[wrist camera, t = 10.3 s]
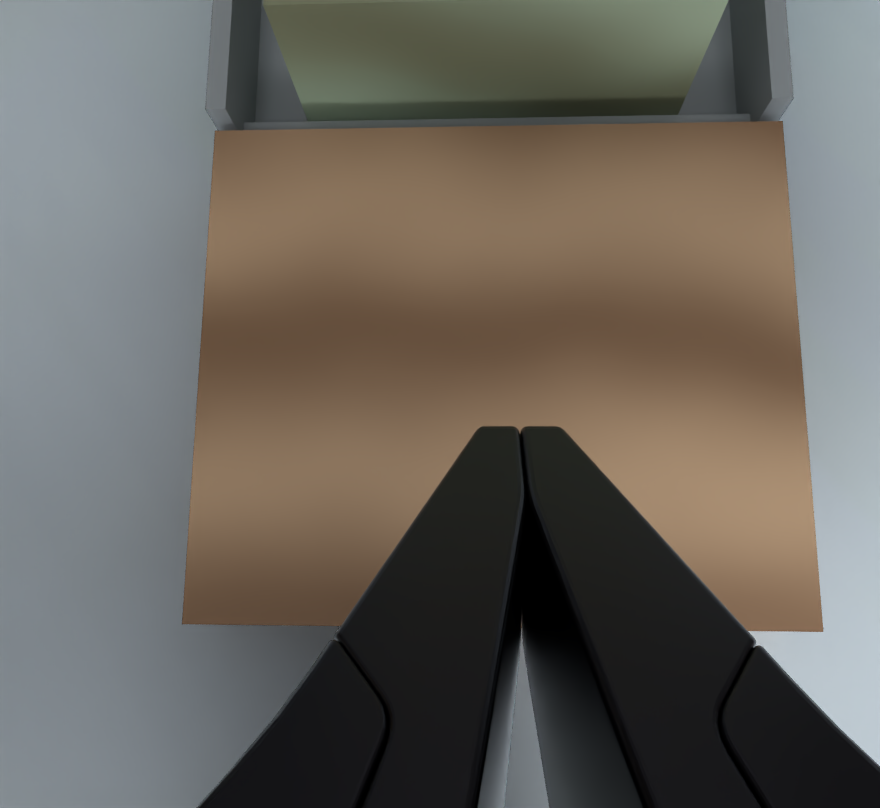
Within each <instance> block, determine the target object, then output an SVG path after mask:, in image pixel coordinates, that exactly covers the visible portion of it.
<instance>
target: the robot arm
mask: <svg viewBox="0 0 880 808" xmlns="http://www.w3.org/2000/svg"><path fill="white" fill-rule="evenodd" d="M521 623H522V638H523V646H524V654H525V661H526V668H527V674H528V680H529V686H530V692H531V698H532V704H533V710H534V717H535V723H536V729H537V735H538V741H539V747H540V753H541V759H542V765H543V772H544V778H545V784H546V790H547V796H548V802H549V808H880V766H879V765H878V764H877V763H876V762H875V761H874V760H873V759H872V758H871V757H869V756H868V755H867V754H866V753H865V752H864V751H863V750H862V749H861V748H860V747H859V746H858V745H857V744H856V743H855V742H854V741H853V740H851V739H850V738H849V737H848V736H847V735H846V734H845V733H844V732H843V731H842V730H841V729H840V728H839V727H838V726H837V725H836V724H835V723H834V722H833V721H832V720H831V719H830V718H829V717H828V716H827V715H826V714H825V713H824V712H823V711H822V710H821V709H820V708H819V707H818V705H817V704H816V703H815V702H814V701H813V700H812V699H811V698H810V697H809V696H808V695H807V694H806V693H805V692H804V691H803V690H802V689H801V688H800V687H799V686H798V685H797V684H796V683H795V682H794V681H793V680H792V678H791V677H790V676H789V675H788V674H787V673H786V672H785V671H784V670H783V669H782V668H781V666H780V665H779V664H778V663H777V662H776V661H775V660H774V659H773V658H772V657H771V656H770V654H769V653H768V652H767V651H766V650H765V649H764V648H763V647H762V646H756V641H755V639H754V637H753V636H752V635H751V634H750V633H749V632H748V631H747V630H746V629H745V628H744V626H743V625H742V624H741V623H740V622H739V621H738V620H737V619H736V618H735V617H734V616H733V614H732V613H731V612H730V611H729V610H728V609H727V608H726V607H725V606H724V605H723V603H722V602H721V601H720V600H719V599H718V598H717V597H716V596H715V595H714V594H713V592H712V591H711V590H710V589H709V588H708V587H707V586H706V585H705V584H704V583H703V582H702V580H701V579H700V578H699V577H698V576H697V575H696V574H695V573H694V572H693V571H692V569H691V568H690V567H689V566H688V565H687V564H686V563H685V562H684V561H683V560H682V559H681V557H680V556H679V555H678V554H677V553H676V552H675V551H674V550H673V549H672V548H671V546H670V545H669V544H668V543H667V542H666V541H665V540H664V539H663V538H662V537H661V535H660V534H659V533H658V532H657V531H656V530H655V529H654V528H653V527H652V526H651V525H650V523H649V522H648V521H647V520H646V519H645V518H644V517H643V516H642V515H641V514H640V512H639V511H638V510H637V509H636V508H635V507H634V506H633V505H632V504H631V503H630V502H629V500H628V499H627V498H626V497H625V496H624V495H623V494H622V493H621V492H620V491H619V489H618V488H617V487H616V486H615V485H614V484H613V483H612V482H611V481H610V480H609V478H608V477H607V476H606V475H605V474H604V473H603V472H602V471H601V470H600V469H599V468H598V466H597V465H596V464H595V463H594V462H593V461H592V460H591V459H590V458H589V457H588V455H587V454H586V453H585V452H584V451H583V450H582V449H581V448H580V447H579V446H578V445H577V443H576V442H575V441H574V440H573V439H572V438H571V437H570V436H569V435H568V434H567V432H566V431H565V430H564V429H562V428H561V427H559V426H526V427H524V428H522V430H521V431H520V432H519V430H518V429H517V428H516V427H514V426H481V427H480V428H478V429H477V430H476V432H475V433H474V434H473V436H472V437H471V439H470V440H469V442H468V443H467V444H466V446H465V447H464V449H463V450H462V452H461V453H460V455H459V456H458V457H457V459H456V460H455V462H454V463H453V465H452V466H451V468H450V469H449V470H448V472H447V473H446V475H445V476H444V478H443V479H442V481H441V482H440V483H439V485H438V486H437V488H436V489H435V491H434V492H433V494H432V495H431V496H430V498H429V499H428V501H427V502H426V504H425V505H424V507H423V508H422V509H421V511H420V512H419V514H418V515H417V517H416V518H415V520H414V521H413V522H412V524H411V525H410V527H409V528H408V530H407V531H406V532H405V534H404V535H403V537H402V538H401V540H400V541H399V543H398V544H397V545H396V547H395V548H394V550H393V551H392V553H391V554H390V556H389V557H388V558H387V560H386V561H385V563H384V564H383V566H382V567H381V569H380V570H379V571H378V573H377V574H376V576H375V577H374V579H373V580H372V582H371V583H370V584H369V586H368V587H367V589H366V590H365V592H364V593H363V595H362V596H361V597H360V599H359V600H358V602H357V603H356V605H355V606H354V608H353V609H352V610H351V612H350V613H349V615H348V616H347V618H346V619H345V621H344V622H343V623H342V625H341V626H340V628H339V629H338V631H337V632H336V634H335V637H334V639H335V640H331V641H330V642H329V643H328V644H327V646H326V647H325V649H324V650H323V652H322V653H321V655H320V656H319V657H318V659H317V660H316V662H315V663H314V665H313V666H312V668H311V669H310V670H309V672H308V673H307V675H306V676H305V677H304V679H303V680H302V681H301V683H300V684H299V685H298V687H297V688H296V689H295V691H294V692H293V693H292V695H291V696H290V697H289V699H288V700H287V701H286V703H285V704H284V705H283V707H282V708H281V710H280V711H279V712H278V714H277V715H276V716H275V718H274V719H273V720H272V721H271V722H270V724H269V725H268V726H267V727H266V728H265V730H264V731H263V732H262V733H261V734H260V735H259V737H258V738H257V739H256V740H255V741H254V743H253V744H252V745H251V746H250V747H249V748H248V750H247V751H246V752H245V753H244V754H243V755H242V757H241V758H240V759H239V760H238V761H237V763H236V764H235V765H234V766H233V767H232V768H231V770H230V771H229V772H228V773H227V774H226V775H225V776H224V778H223V779H222V780H221V781H220V782H219V783H218V784H217V785H216V787H215V788H214V789H213V790H212V791H211V792H210V793H209V794H208V795H207V797H206V798H205V799H204V800H203V801H202V802H201V803H200V804H199V806H198V807H197V808H504V805H505V795H506V785H507V775H508V766H509V756H510V746H511V736H512V726H513V716H514V706H515V696H516V686H517V677H518V667H519V654H520V640H521Z"/></svg>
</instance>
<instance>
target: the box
mask: <svg viewBox="0 0 880 808" xmlns="http://www.w3.org/2000/svg"><path fill="white" fill-rule="evenodd" d="M793 98H794V97H793V85H792V73H791V61H790V49H789V37H788V25H787V13H786V1H785V0H728V3H727V5H726V7H725V10H724V12H723V14H722V16H721V19H720V21H719V23H718V25H717V28H716V30H715V32H714V34H713V37H712V39H711V41H710V43H709V46H708V48H707V50H706V52H705V55H704V57H703V59H702V61H701V64H700V66H699V68H698V71H697V73H696V75H695V77H694V80H693V82H692V84H691V86H690V89H689V91H688V93H687V95H686V98H685V100H684V102H683V104H682V107H681V109H680V111H679V113H678V115H641V116H584V117H527V118H471V119H414V120H357V121H308V120H307V118H306V115H305V112H304V110H303V107H302V105H301V102H300V99H299V97H298V94H297V92H296V89H295V86H294V84H293V81H292V79H291V76H290V73H289V71H288V68H287V66H286V63H285V61H284V58H283V55H282V53H281V50H280V48H279V45H278V42H277V40H276V37H275V35H274V32H273V29H272V27H271V24H270V22H269V19H268V16H267V14H266V11H265V9H264V6H263V0H213V6H212V20H211V35H210V49H209V63H208V78H207V92H206V106H205V109H206V111H207V113H208V114H209V116H210V118H211V119H212V121H213V123H214V124H215V126H216V128H217V129H218V131H230V130H289V129H347V128H405V127H463V126H521V125H579V124H638V123H696V122H754V121H779V119H780V118H781V116H782V115H783V113H784V112H785V110H786V109H787V107H788V106H789V104H790V103H791V101H792V100H793Z"/></svg>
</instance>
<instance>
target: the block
mask: <svg viewBox="0 0 880 808" xmlns="http://www.w3.org/2000/svg"><path fill="white" fill-rule="evenodd" d="M727 3H728V0H263V6H264V9H265V11H266V14H267V16H268V19H269V22H270V24H271V27H272V29H273V32H274V35H275V37H276V40H277V42H278V45H279V48H280V50H281V53H282V55H283V58H284V61H285V63H286V66H287V68H288V71H289V73H290V76H291V79H292V81H293V84H294V86H295V89H296V92H297V94H298V97H299V99H300V102H301V105H302V107H303V110H304V112H305V115H306V118H307V120H308V121H357V120H414V119H471V118H527V117H584V116H641V115H678V113H679V111H680V109H681V107H682V104H683V102H684V100H685V98H686V95H687V93H688V91H689V89H690V86H691V84H692V82H693V80H694V77H695V75H696V73H697V71H698V68H699V66H700V64H701V61H702V59H703V57H704V55H705V52H706V50H707V48H708V46H709V43H710V41H711V39H712V37H713V34H714V32H715V30H716V28H717V25H718V23H719V21H720V19H721V16H722V14H723V12H724V10H725V7H726V5H727Z"/></svg>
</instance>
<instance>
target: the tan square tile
mask: <svg viewBox="0 0 880 808" xmlns="http://www.w3.org/2000/svg"><path fill="white" fill-rule="evenodd" d="M481 426H514V427H516V428H517V429H518V430H519V432H520V431H521V430H522V428H524V427H526V426H559V427H561V428H562V429H564V430H565V431H566V432H567V434H568V435H569V436H570V437H571V438H572V439H573V440H574V441H575V442H576V443H577V445H578V446H579V447H580V448H581V449H582V450H583V451H584V452H585V453H586V454H587V455H588V457H589V458H590V459H591V460H592V461H593V462H594V463H595V464H596V465H597V466H598V468H599V469H600V470H601V471H602V472H603V473H604V474H605V475H606V476H607V477H608V478H609V480H610V481H611V482H612V483H613V484H614V485H615V486H616V487H617V488H618V489H619V491H620V492H621V493H622V494H623V495H624V496H625V497H626V498H627V499H628V500H629V502H630V503H631V504H632V505H633V506H634V507H635V508H636V509H637V510H638V511H639V512H640V514H641V515H642V516H643V517H644V518H645V519H646V520H647V521H648V522H649V523H650V525H651V526H652V527H653V528H654V529H655V530H656V531H657V532H658V533H659V534H660V535H661V537H662V538H663V539H664V540H665V541H666V542H667V543H668V544H669V545H670V546H671V548H672V549H673V550H674V551H675V552H676V553H677V554H678V555H679V556H680V557H681V559H682V560H683V561H684V562H685V563H686V564H687V565H688V566H689V567H690V568H691V569H692V571H693V572H694V573H695V574H696V575H697V576H698V577H699V578H700V579H701V580H702V582H703V583H704V584H705V585H706V586H707V587H708V588H709V589H710V590H711V591H712V592H713V594H714V595H715V596H716V597H717V598H718V599H719V600H720V601H721V602H722V603H723V605H724V606H725V607H726V608H727V609H728V610H729V611H730V612H731V613H732V614H733V616H734V617H735V618H736V619H737V620H738V621H739V622H740V623H741V624H742V625H743V626H744V628H745V629H746V630H747V631H800V632H823V623H822V610H821V598H820V585H819V572H818V560H817V547H816V535H815V522H814V510H813V497H812V485H811V472H810V459H809V447H808V434H807V422H806V409H805V397H804V384H803V372H802V359H801V346H800V334H799V321H798V309H797V296H796V284H795V271H794V259H793V246H792V233H791V221H790V208H789V196H788V183H787V171H786V158H785V146H784V133H783V121H754V122H696V123H638V124H579V125H521V126H463V127H405V128H347V129H289V130H230V131H215V139H214V153H213V168H212V183H211V198H210V213H209V228H208V243H207V258H206V273H205V288H204V303H203V318H202V333H201V348H200V363H199V378H198V393H197V408H196V423H195V438H194V453H193V468H192V483H191V498H190V513H189V528H188V543H187V558H186V572H185V587H184V602H183V617H182V624H214V625H297V626H341V625H342V623H343V622H344V621H345V619H346V618H347V616H348V615H349V613H350V612H351V610H352V609H353V608H354V606H355V605H356V603H357V602H358V600H359V599H360V597H361V596H362V595H363V593H364V592H365V590H366V589H367V587H368V586H369V584H370V583H371V582H372V580H373V579H374V577H375V576H376V574H377V573H378V571H379V570H380V569H381V567H382V566H383V564H384V563H385V561H386V560H387V558H388V557H389V556H390V554H391V553H392V551H393V550H394V548H395V547H396V545H397V544H398V543H399V541H400V540H401V538H402V537H403V535H404V534H405V532H406V531H407V530H408V528H409V527H410V525H411V524H412V522H413V521H414V520H415V518H416V517H417V515H418V514H419V512H420V511H421V509H422V508H423V507H424V505H425V504H426V502H427V501H428V499H429V498H430V496H431V495H432V494H433V492H434V491H435V489H436V488H437V486H438V485H439V483H440V482H441V481H442V479H443V478H444V476H445V475H446V473H447V472H448V470H449V469H450V468H451V466H452V465H453V463H454V462H455V460H456V459H457V457H458V456H459V455H460V453H461V452H462V450H463V449H464V447H465V446H466V444H467V443H468V442H469V440H470V439H471V437H472V436H473V434H474V433H475V432H476V430H477V429H478V428H480V427H481ZM521 628H522V623H521Z"/></svg>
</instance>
